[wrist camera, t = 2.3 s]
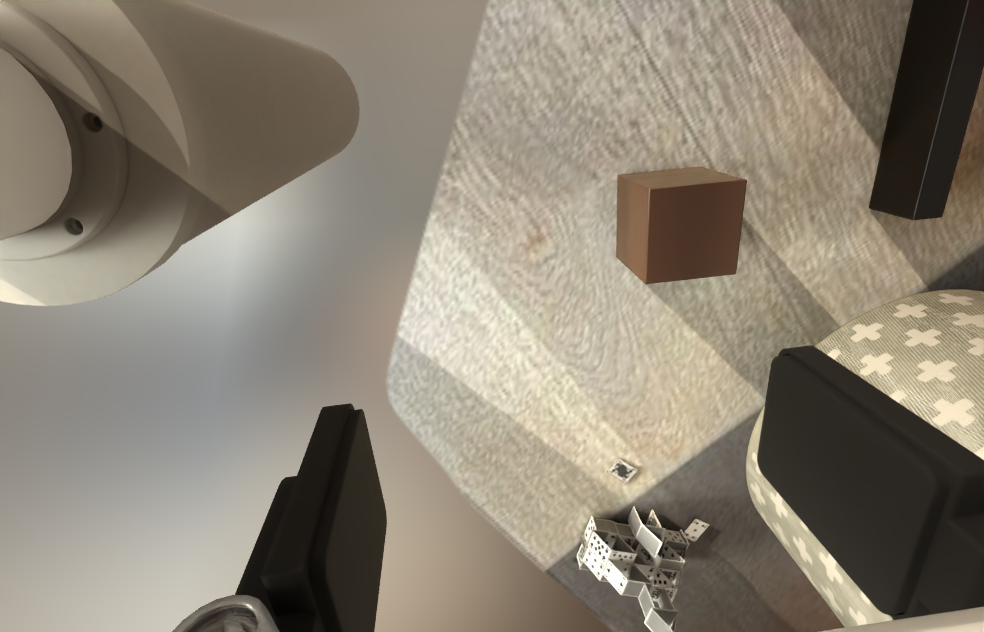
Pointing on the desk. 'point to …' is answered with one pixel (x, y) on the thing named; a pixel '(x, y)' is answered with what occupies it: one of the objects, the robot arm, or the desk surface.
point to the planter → (911, 382)
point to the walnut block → (679, 223)
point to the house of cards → (639, 558)
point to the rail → (930, 107)
